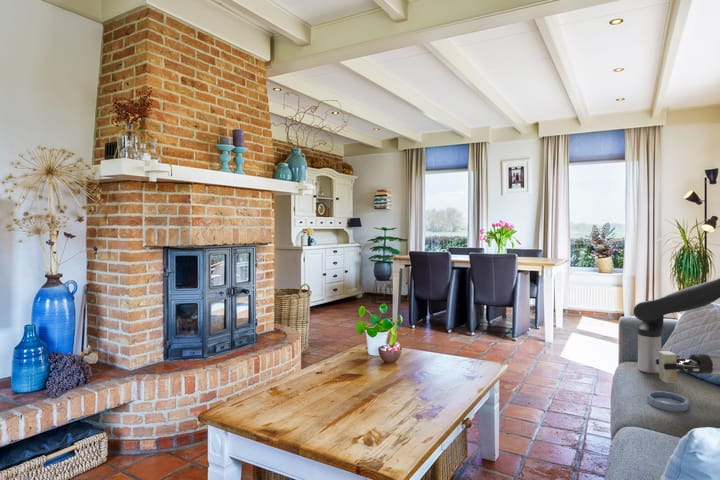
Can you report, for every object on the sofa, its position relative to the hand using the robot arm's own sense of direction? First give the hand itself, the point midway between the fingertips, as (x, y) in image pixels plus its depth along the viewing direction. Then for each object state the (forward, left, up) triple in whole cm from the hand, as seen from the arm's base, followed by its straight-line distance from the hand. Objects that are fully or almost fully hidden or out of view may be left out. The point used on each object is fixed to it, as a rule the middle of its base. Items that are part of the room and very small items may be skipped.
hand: (660, 364), depth 170 cm
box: (0, +3, -7) cm, 7 cm away
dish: (0, +2, -16) cm, 16 cm away
